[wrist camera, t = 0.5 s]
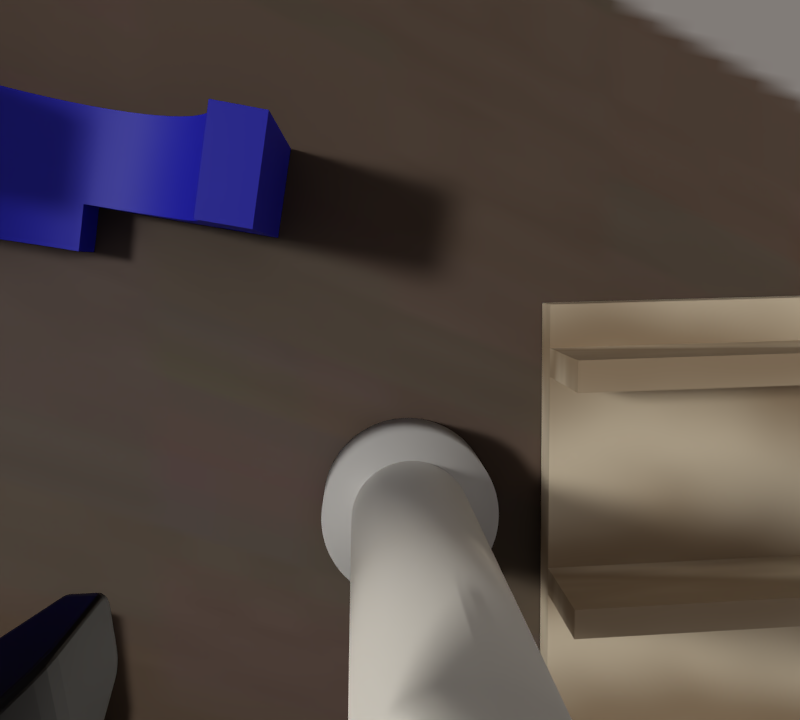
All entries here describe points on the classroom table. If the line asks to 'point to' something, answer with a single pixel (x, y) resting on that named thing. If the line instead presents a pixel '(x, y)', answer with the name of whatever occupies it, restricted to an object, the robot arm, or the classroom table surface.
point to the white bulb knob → (428, 583)
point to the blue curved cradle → (135, 168)
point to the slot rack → (672, 508)
